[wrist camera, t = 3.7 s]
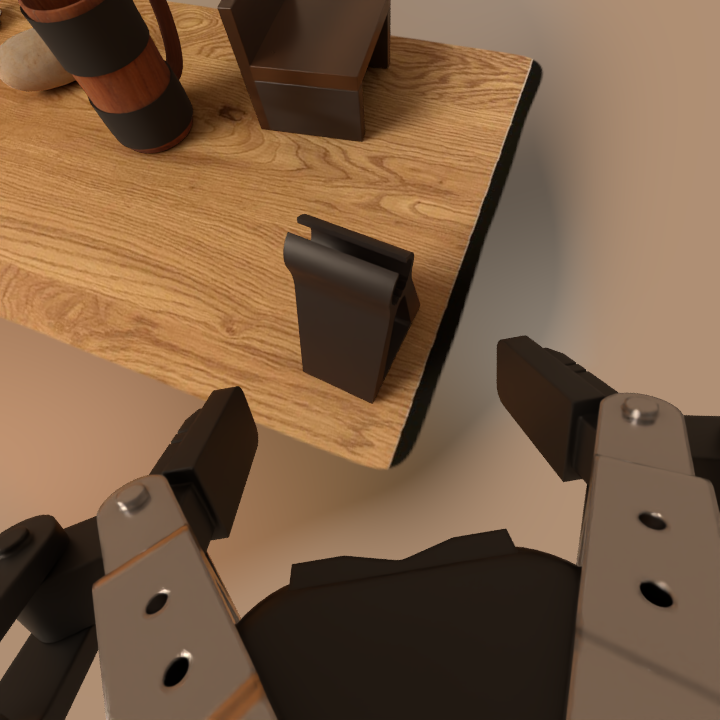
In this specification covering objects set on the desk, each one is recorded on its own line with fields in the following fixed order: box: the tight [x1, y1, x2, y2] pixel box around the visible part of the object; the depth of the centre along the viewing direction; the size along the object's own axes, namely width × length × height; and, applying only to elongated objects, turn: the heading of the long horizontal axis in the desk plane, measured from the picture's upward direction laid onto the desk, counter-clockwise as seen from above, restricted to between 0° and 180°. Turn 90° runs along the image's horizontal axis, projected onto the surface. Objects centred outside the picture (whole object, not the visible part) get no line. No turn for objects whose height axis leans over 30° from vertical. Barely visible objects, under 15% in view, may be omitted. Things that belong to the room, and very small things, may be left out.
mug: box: [18, 0, 193, 153], centre depth 33 cm, size 9×12×12 cm
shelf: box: [218, 0, 390, 142], centre depth 33 cm, size 11×12×10 cm
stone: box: [0, 28, 76, 91], centre depth 39 cm, size 6×6×12 cm
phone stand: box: [283, 214, 420, 404], centre depth 22 cm, size 9×6×12 cm, turn 153°
